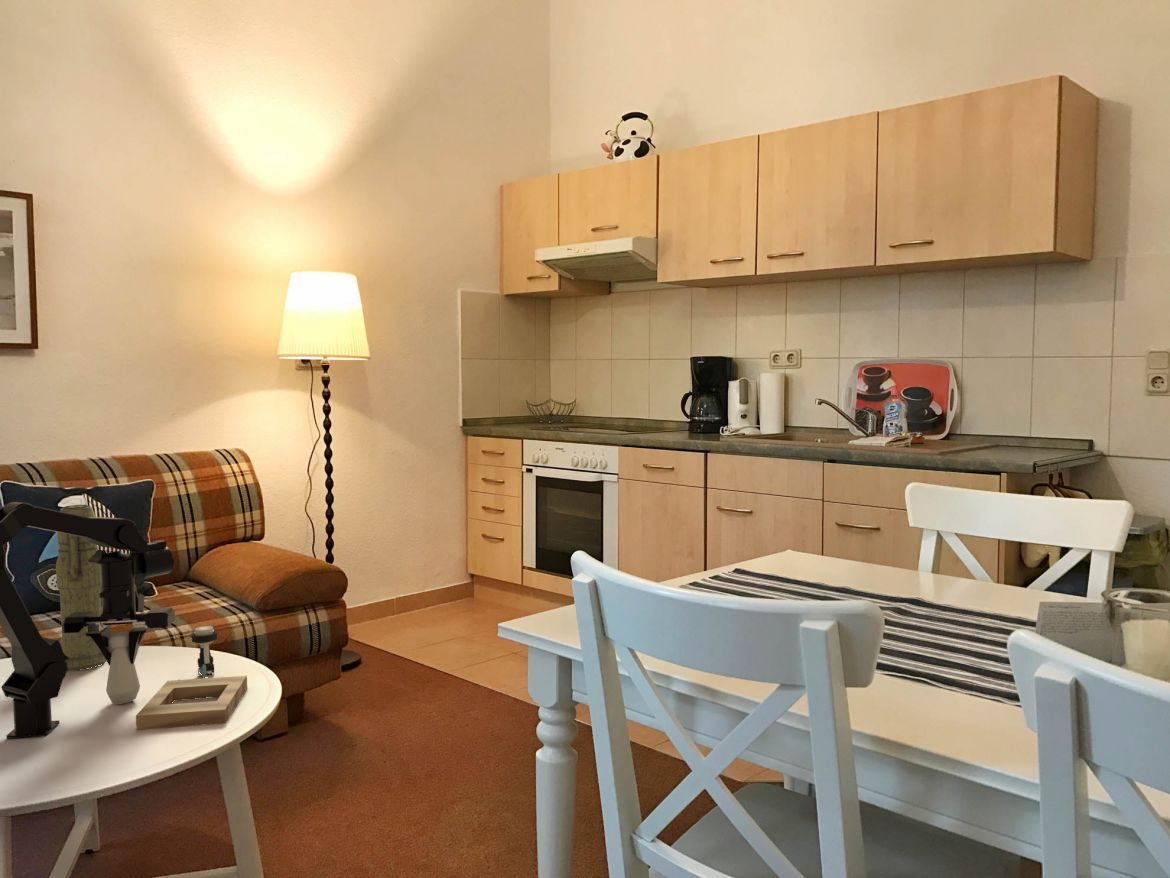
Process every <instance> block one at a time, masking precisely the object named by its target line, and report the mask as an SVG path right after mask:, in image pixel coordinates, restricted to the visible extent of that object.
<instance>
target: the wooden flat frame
mask: <svg viewBox="0 0 1170 878" xmlns="http://www.w3.org/2000/svg"><path fill="white" fill-rule="evenodd" d="M247 689H248V676H247V675H237V676H236V675H235V676H222V677H220V676H219V677H212V678H203V677H202V678H191V679H175V680H167V681H166V682H165V683H164V684H163V685H162V686H161V688H159V690H157V692H156V693H155V694H154V695H153V696H152V697H151V698H150V700H148V702H147V703H146V704H145V705H144V706H143V708H141V709H140V710H139V712H137V714H136V715H135V722H136V723H135V725H136V726H135V727H136V730H137V731H138V730H149V729H161V728H177V727H187V726H188V727H190V726H192V725H193V726H202V724H206V725H218V724H226V723H227V722H228V720H229V719H230V717H231V715H232V714H231V713H233V712H234V710H235V709H234V708H236V707H237V705H238V704H239V702H240V701H239V700H241V699H242V697H243V696H244V694H245V693H246V691H247ZM244 692H245V693H244ZM242 695H243V696H242ZM206 697H219V698H217V700H216V701H215V700H214V701H201V702H186V703H174V702H175V701H174V700H177V701H183V700H182V699H191V700H196V699H195V698H206ZM206 699H207V698H206ZM173 701H174V702H173ZM172 702H173V703H172ZM237 703H238V704H237ZM229 716H230V717H229ZM226 721H227V722H226Z"/></svg>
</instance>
